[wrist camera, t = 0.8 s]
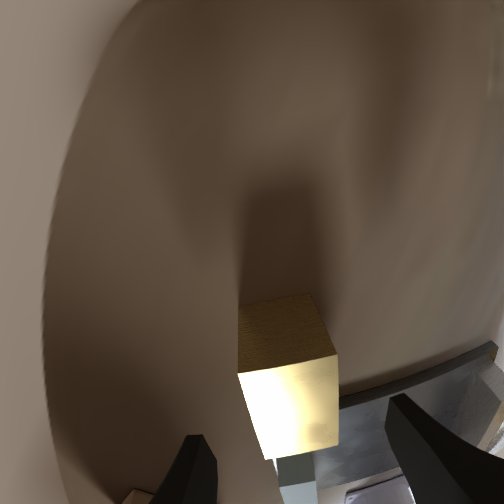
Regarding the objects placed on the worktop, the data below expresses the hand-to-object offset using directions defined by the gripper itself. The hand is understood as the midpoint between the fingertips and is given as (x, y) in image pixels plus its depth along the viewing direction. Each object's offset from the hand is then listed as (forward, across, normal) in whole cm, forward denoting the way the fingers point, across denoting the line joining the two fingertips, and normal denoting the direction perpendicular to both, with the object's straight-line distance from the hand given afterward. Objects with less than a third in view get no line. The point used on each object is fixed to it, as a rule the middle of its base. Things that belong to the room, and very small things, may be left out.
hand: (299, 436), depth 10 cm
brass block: (+6, 0, 0) cm, 6 cm away
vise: (+6, -7, +11) cm, 14 cm away
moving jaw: (+5, 0, +11) cm, 12 cm away
